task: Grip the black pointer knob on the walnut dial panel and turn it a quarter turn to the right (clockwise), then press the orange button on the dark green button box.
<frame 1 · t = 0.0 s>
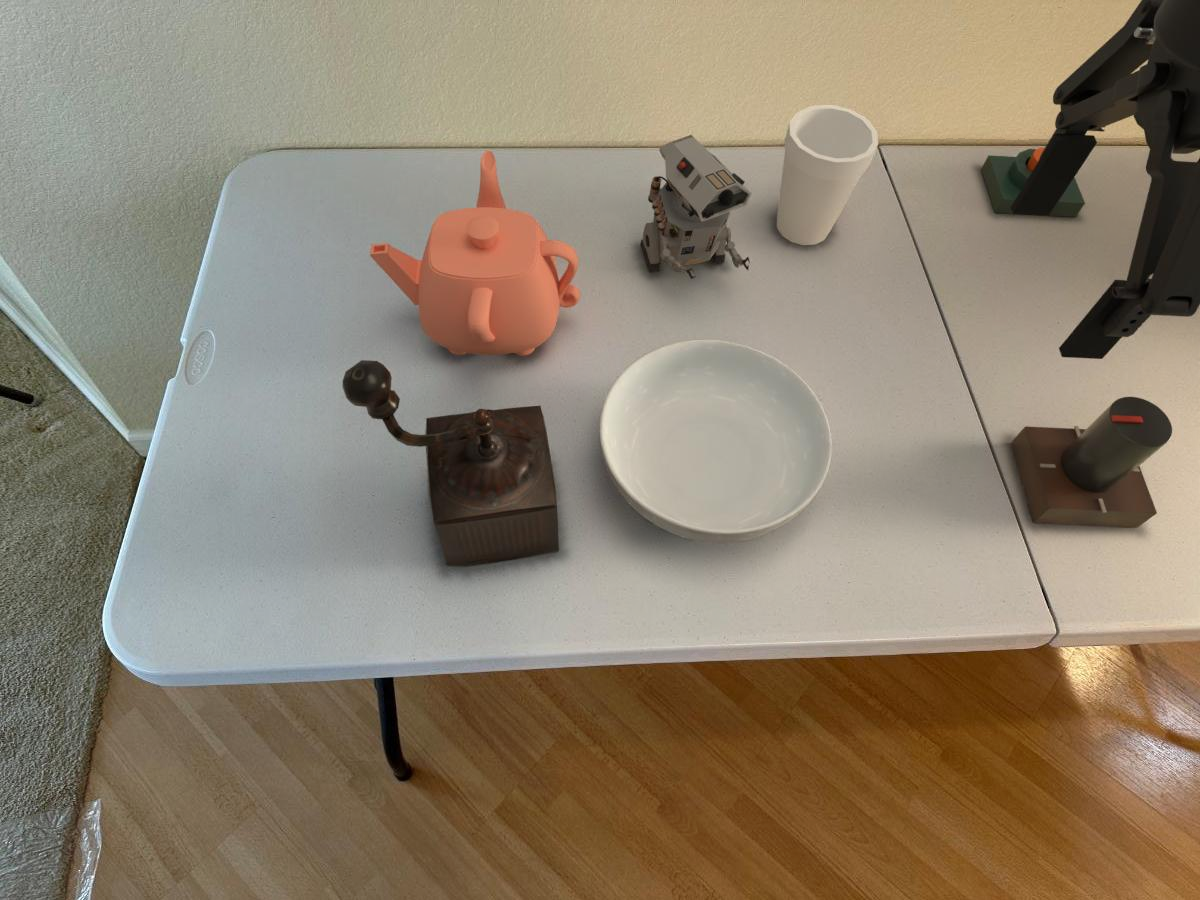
hand: (1053, 278, 57), 26 cm above the table, tool pointing down, fingers open, 13 cm apart
start button: (1045, 163, 97), point 4 cm above the table, slide at 0.1 cm
figurine: (687, 271, 92), on the table
foam cup: (802, 227, 96), on the table
dial panel: (1072, 483, 79), on the table
teapot: (486, 315, 87), on the table
pointer knob: (1115, 444, 73), point 7 cm above the table, hinge at 0.0°
button box: (1027, 192, 101), on the table
serving bowl: (703, 468, 78), on the table
coffee grinder: (469, 512, 75), on the table
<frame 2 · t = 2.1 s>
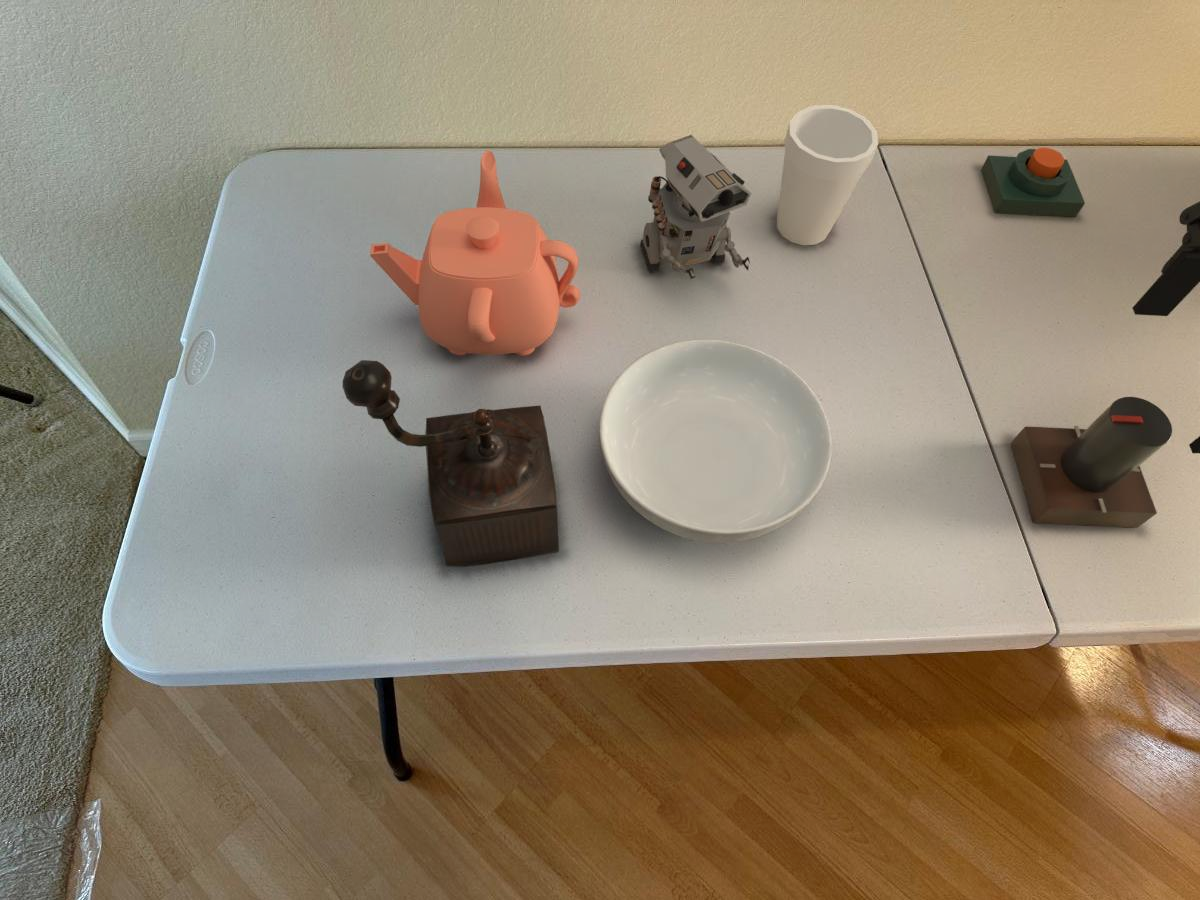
hand: (1176, 377, 64), 17 cm above the table, tool pointing down, fingers open, 13 cm apart
nothing on the table moved.
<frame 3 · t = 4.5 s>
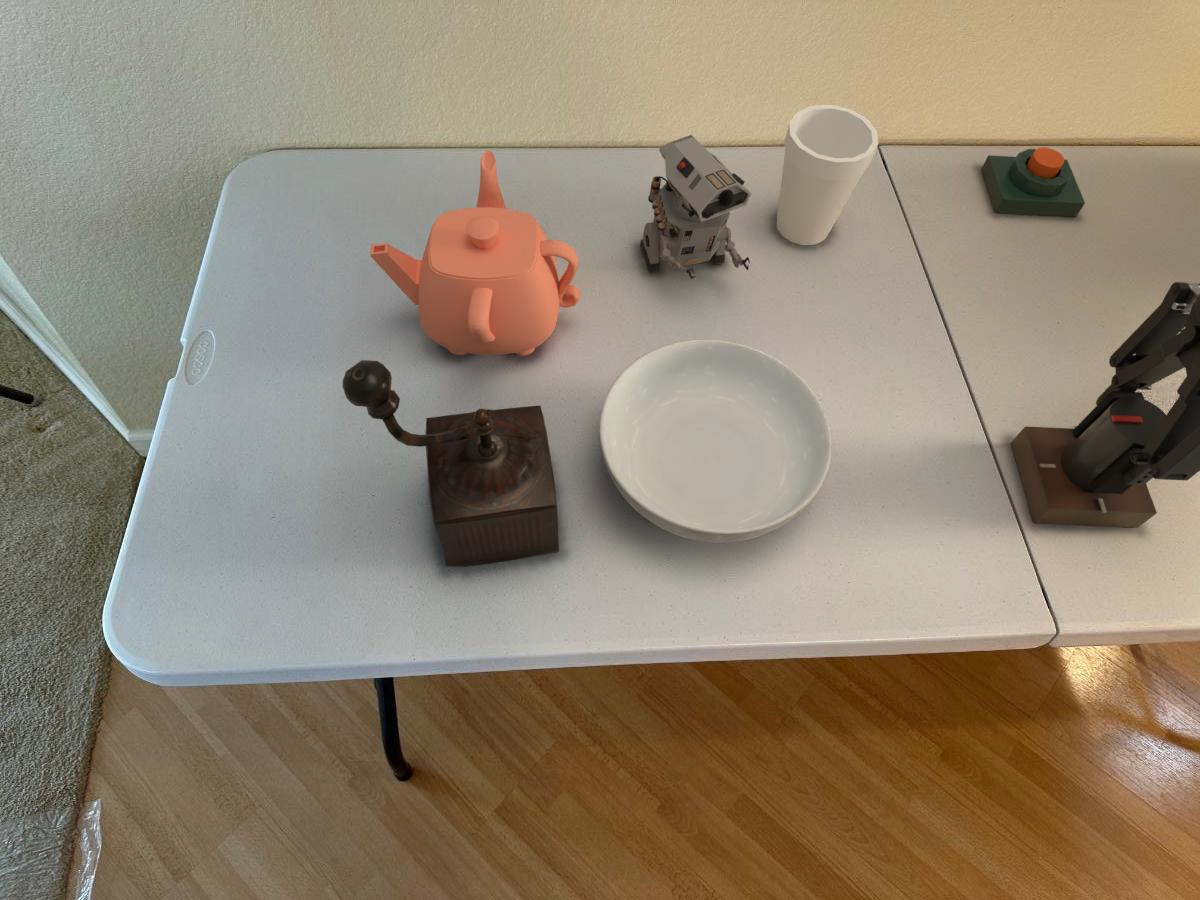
hand: (1096, 461, 75), 4 cm above the table, tool pointing down, fingers closed on pointer knob, 5 cm apart
pointer knob: (1115, 444, 73), point 7 cm above the table, hinge at -0.1°, touching gripper
everything else where it was.
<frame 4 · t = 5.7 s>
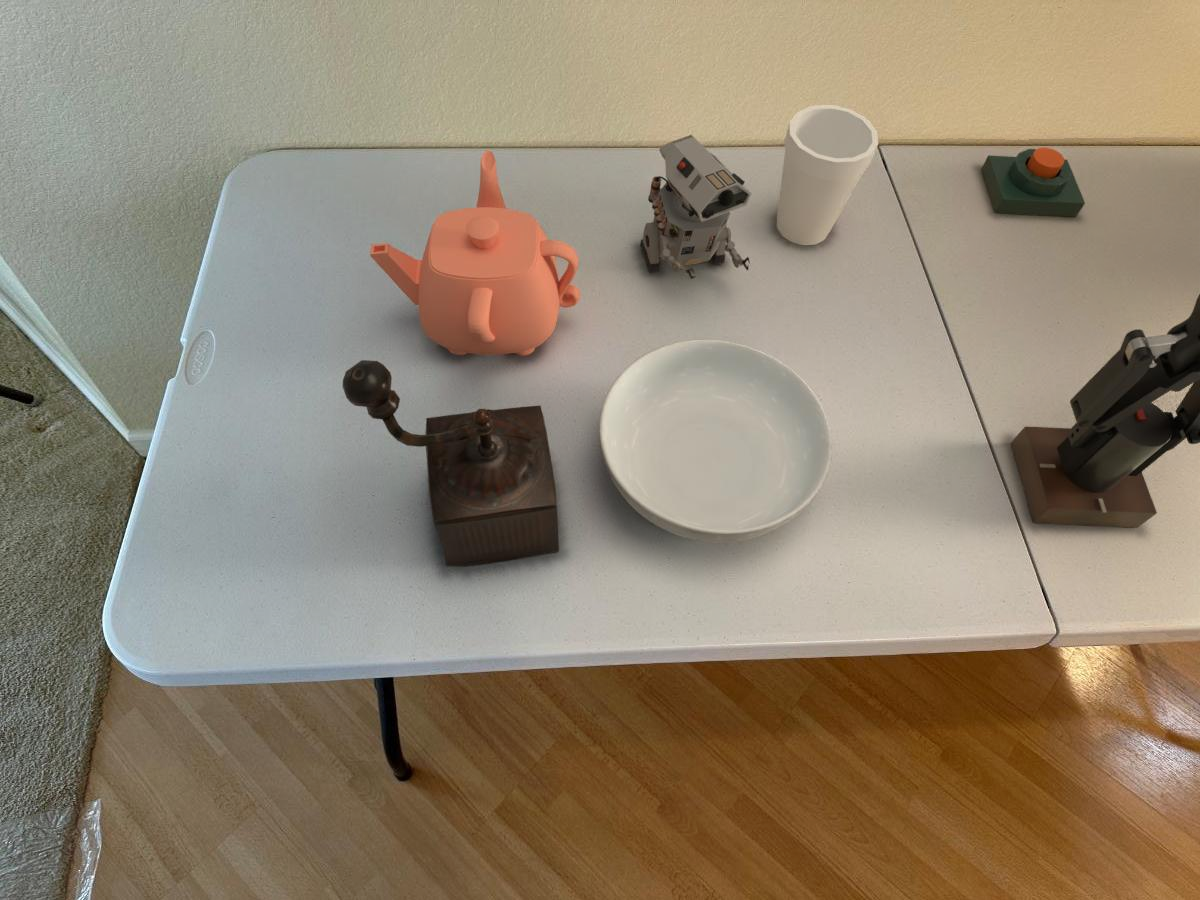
hand: (1096, 461, 75), 4 cm above the table, tool pointing down, fingers closed on pointer knob, 5 cm apart
pointer knob: (1115, 444, 73), point 7 cm above the table, hinge at -90.7°, touching gripper
everything else where it was.
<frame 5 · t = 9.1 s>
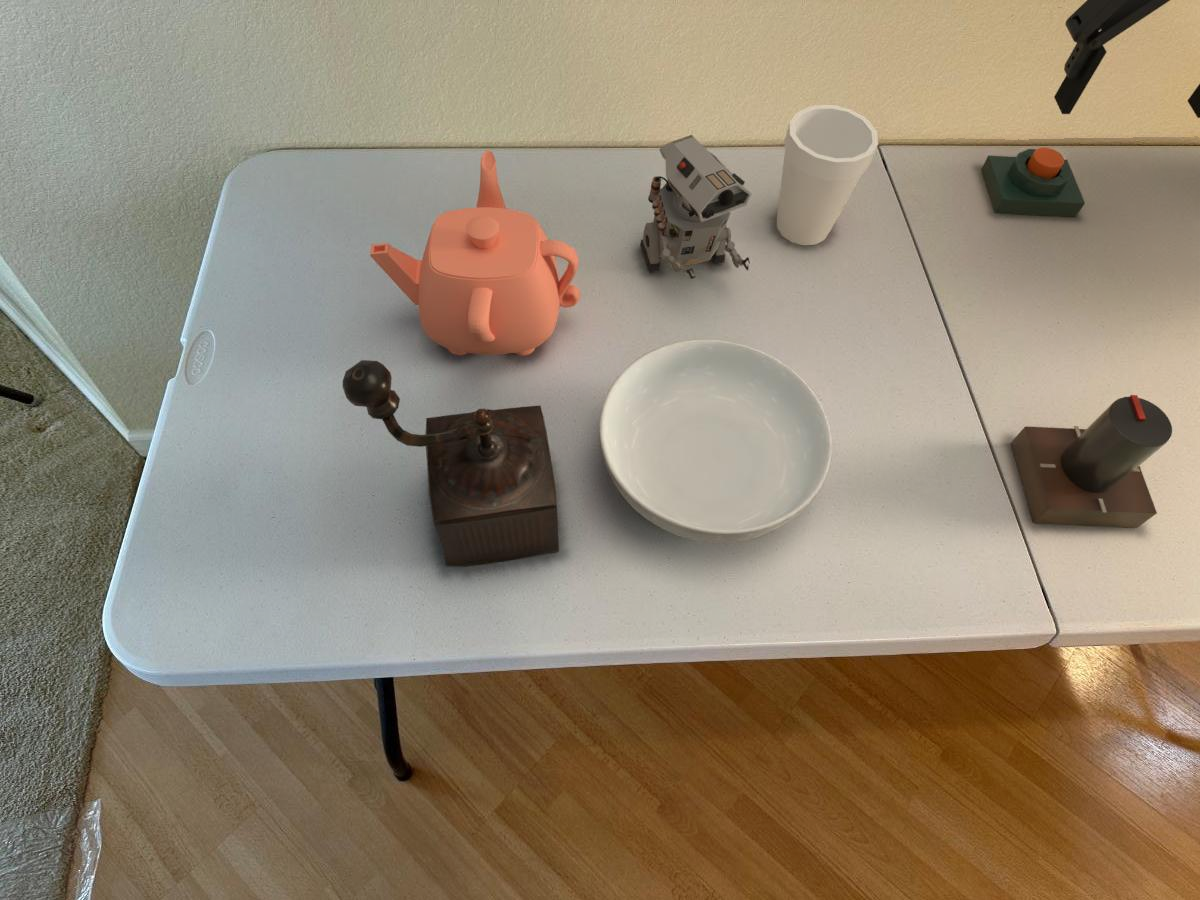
hand: (1128, 107, 80), 18 cm above the table, tool pointing down, fingers open, 13 cm apart
pointer knob: (1115, 444, 73), point 7 cm above the table, hinge at -91.0°
everything else where it was.
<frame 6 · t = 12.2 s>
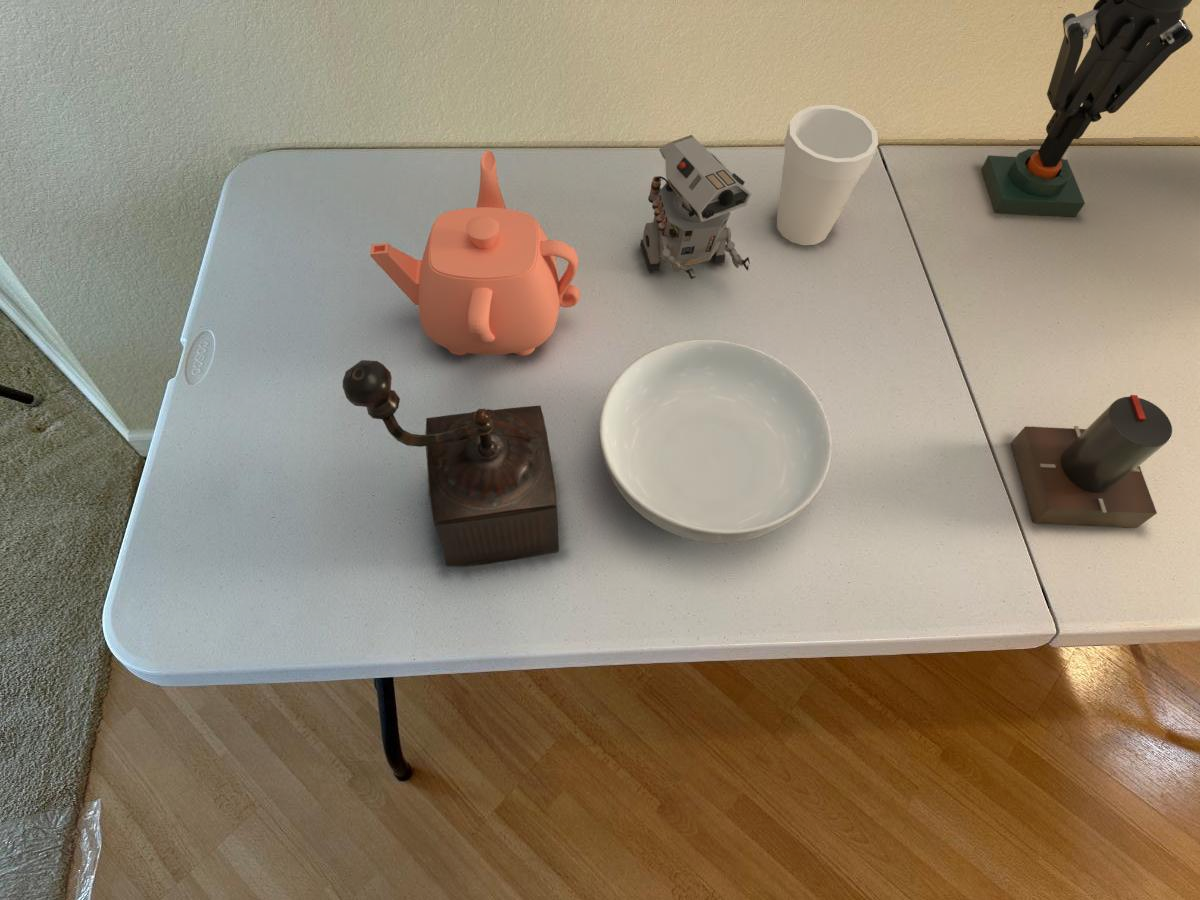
hand: (1047, 158, 96), 5 cm above the table, tool pointing down, fingers closed
start button: (1043, 166, 97), point 4 cm above the table, slide at -0.4 cm, touching gripper
everything else where it was.
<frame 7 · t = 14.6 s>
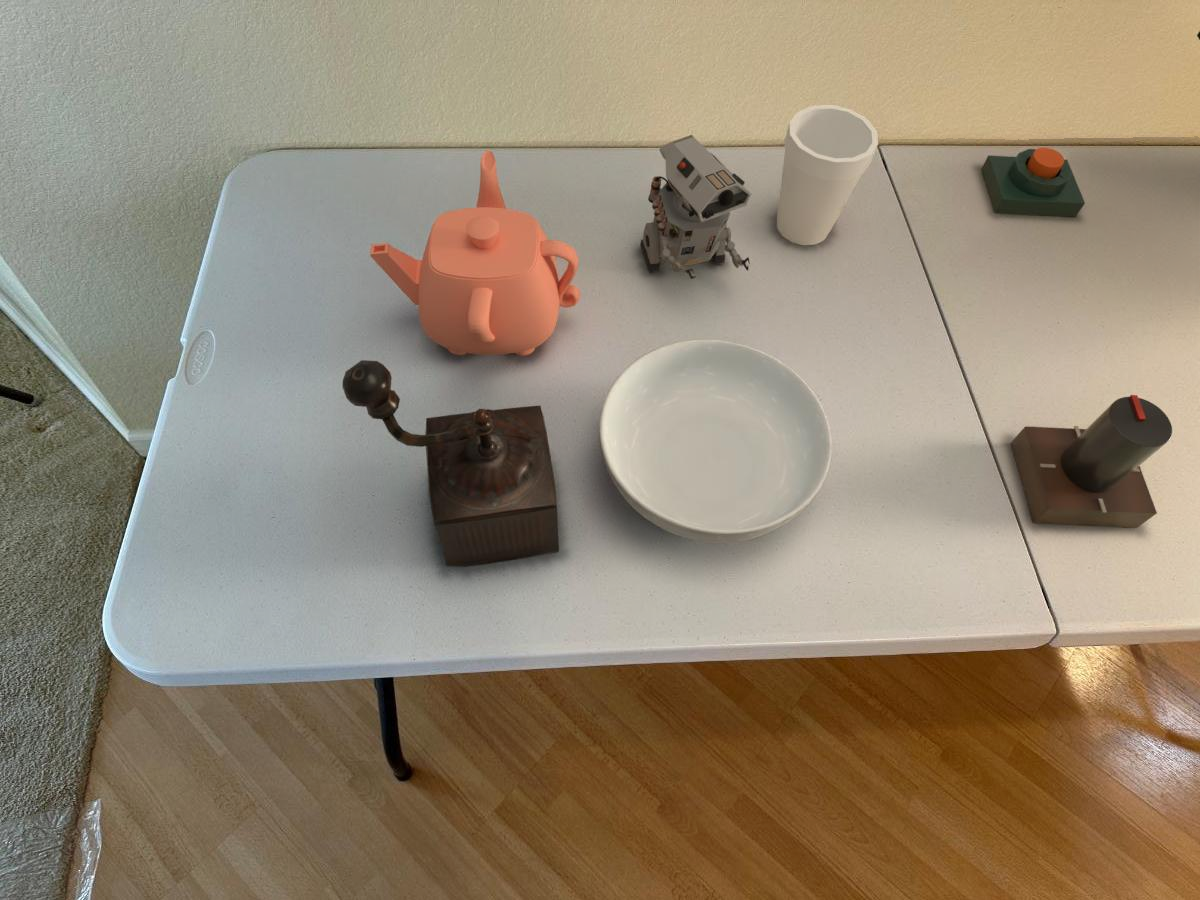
start button: (1045, 163, 97), point 4 cm above the table, slide at 0.1 cm
everything else where it was.
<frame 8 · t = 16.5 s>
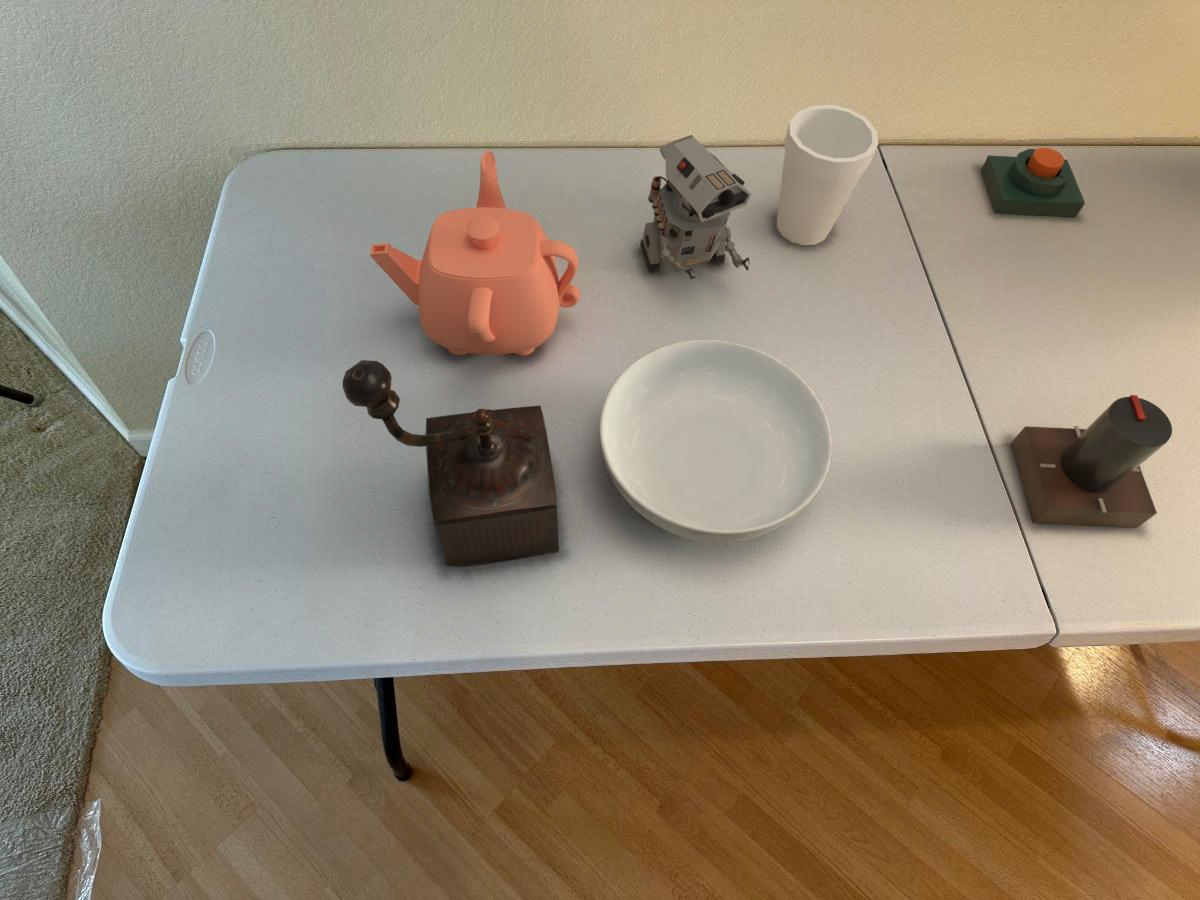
nothing on the table moved.
at the end: pointer knob at -91° (first picture: +0°); start button pushed in 1.0 cm at the most during the clip, back to where it started at the end; start button slide at 0.1 cm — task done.
